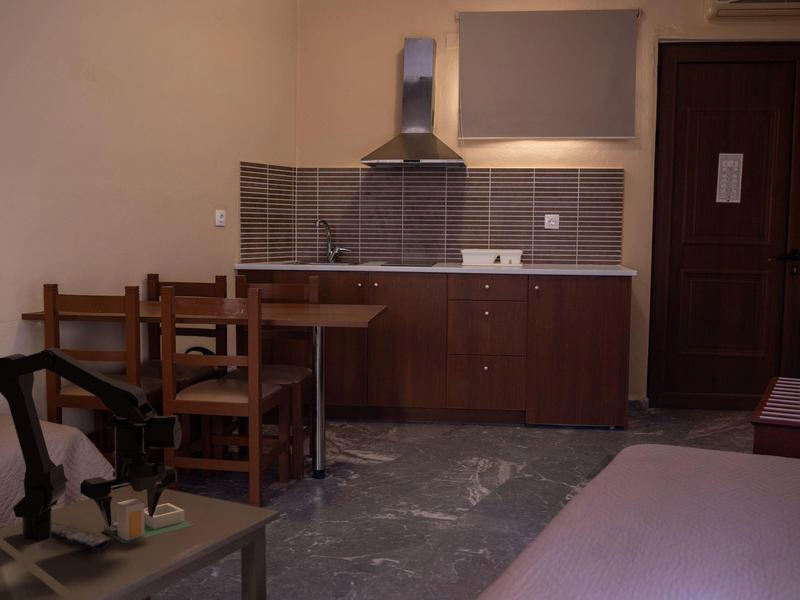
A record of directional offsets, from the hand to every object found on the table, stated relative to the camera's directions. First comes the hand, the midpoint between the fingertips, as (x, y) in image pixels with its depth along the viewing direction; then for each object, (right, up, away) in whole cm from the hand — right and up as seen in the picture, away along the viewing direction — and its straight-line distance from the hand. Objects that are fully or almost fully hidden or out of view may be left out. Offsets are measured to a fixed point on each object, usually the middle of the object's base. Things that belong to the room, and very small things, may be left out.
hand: (130, 521), depth 168 cm
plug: (0, -3, 0) cm, 3 cm away
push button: (-3, -4, +3) cm, 6 cm away
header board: (+2, -4, +5) cm, 7 cm away
